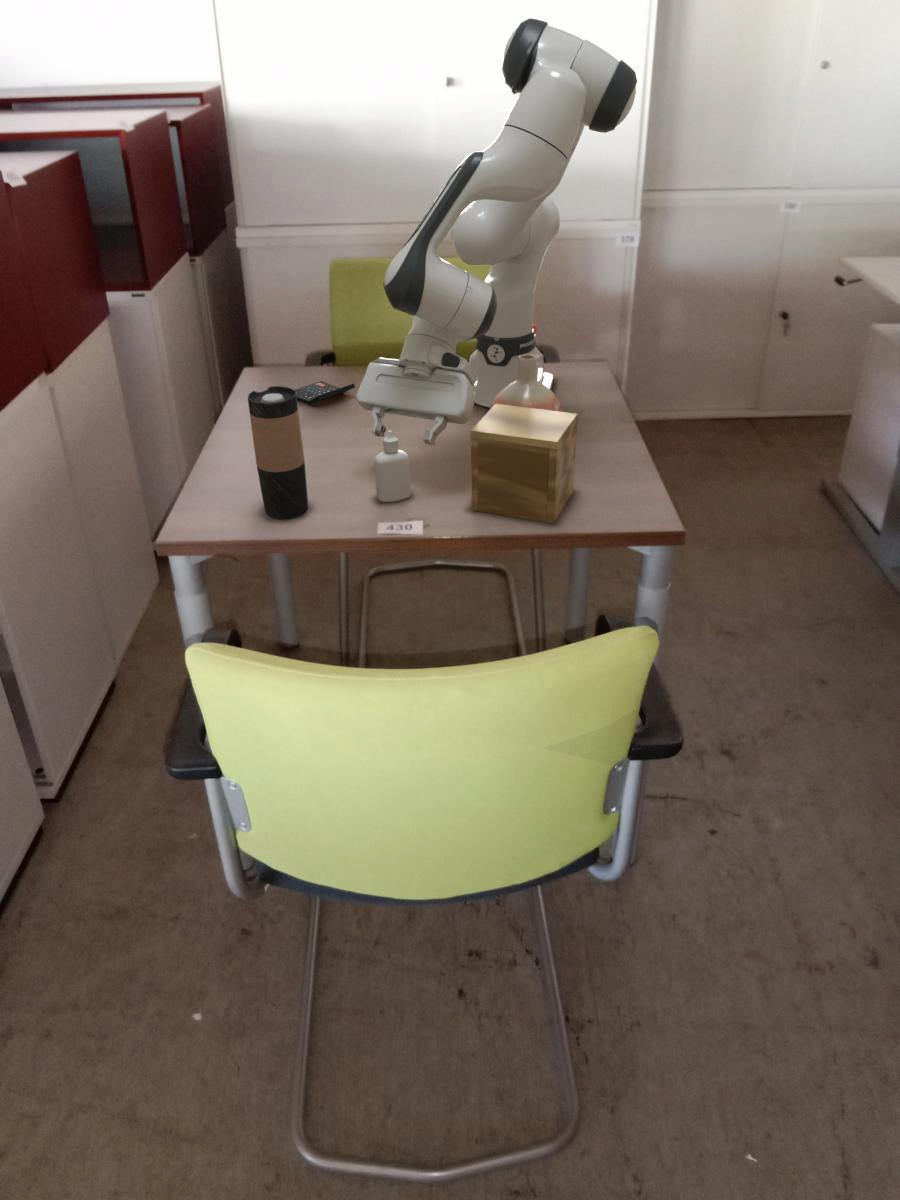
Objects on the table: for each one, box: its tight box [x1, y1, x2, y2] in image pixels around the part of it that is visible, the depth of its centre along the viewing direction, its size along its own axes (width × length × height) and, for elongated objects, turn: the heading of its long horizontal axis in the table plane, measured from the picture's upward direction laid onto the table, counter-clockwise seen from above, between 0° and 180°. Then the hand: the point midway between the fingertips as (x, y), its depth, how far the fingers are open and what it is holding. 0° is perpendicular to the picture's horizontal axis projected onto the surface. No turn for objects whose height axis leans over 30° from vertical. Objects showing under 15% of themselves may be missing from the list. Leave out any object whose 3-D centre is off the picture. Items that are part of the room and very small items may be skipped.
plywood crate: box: [470, 404, 578, 524], centre depth 151 cm, size 12×14×14 cm
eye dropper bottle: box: [374, 429, 412, 503], centre depth 154 cm, size 4×6×12 cm
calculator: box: [293, 380, 356, 406], centre depth 196 cm, size 9×12×3 cm
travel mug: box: [247, 385, 309, 521], centre depth 149 cm, size 8×8×20 cm
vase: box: [488, 354, 563, 412], centre depth 168 cm, size 14×14×18 cm
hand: (402, 439), depth 154 cm, fingers open, 8 cm apart
